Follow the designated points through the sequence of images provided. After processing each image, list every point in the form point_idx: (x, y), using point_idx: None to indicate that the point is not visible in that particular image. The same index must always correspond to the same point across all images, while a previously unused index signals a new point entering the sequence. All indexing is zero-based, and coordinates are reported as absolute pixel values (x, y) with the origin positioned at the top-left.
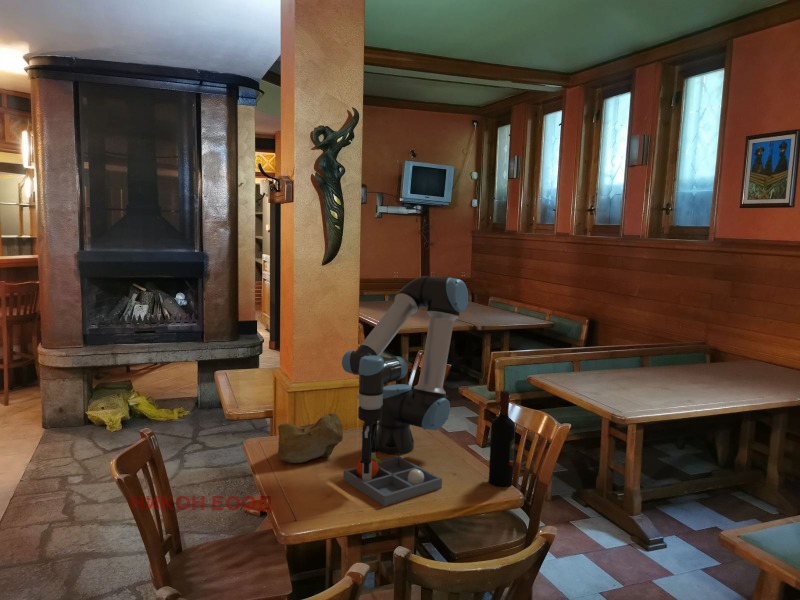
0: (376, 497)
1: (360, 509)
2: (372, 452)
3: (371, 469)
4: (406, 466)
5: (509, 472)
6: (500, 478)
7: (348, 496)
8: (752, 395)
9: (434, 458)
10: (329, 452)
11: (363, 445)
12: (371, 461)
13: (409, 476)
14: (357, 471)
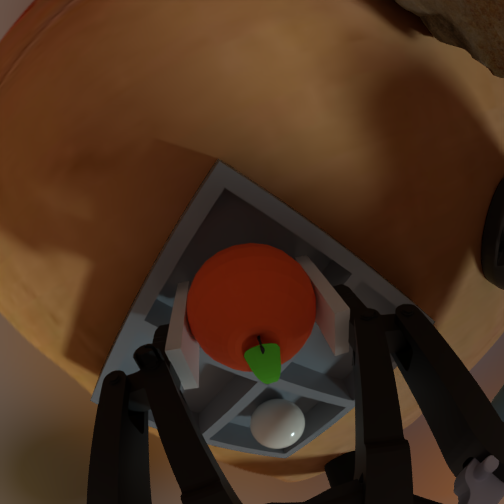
0: (105, 362)
1: (60, 314)
2: (348, 337)
3: (198, 355)
4: None
5: None
6: (328, 479)
7: (107, 241)
8: None
9: (455, 346)
10: (437, 34)
11: (96, 480)
12: (232, 367)
13: (259, 425)
14: (204, 263)
